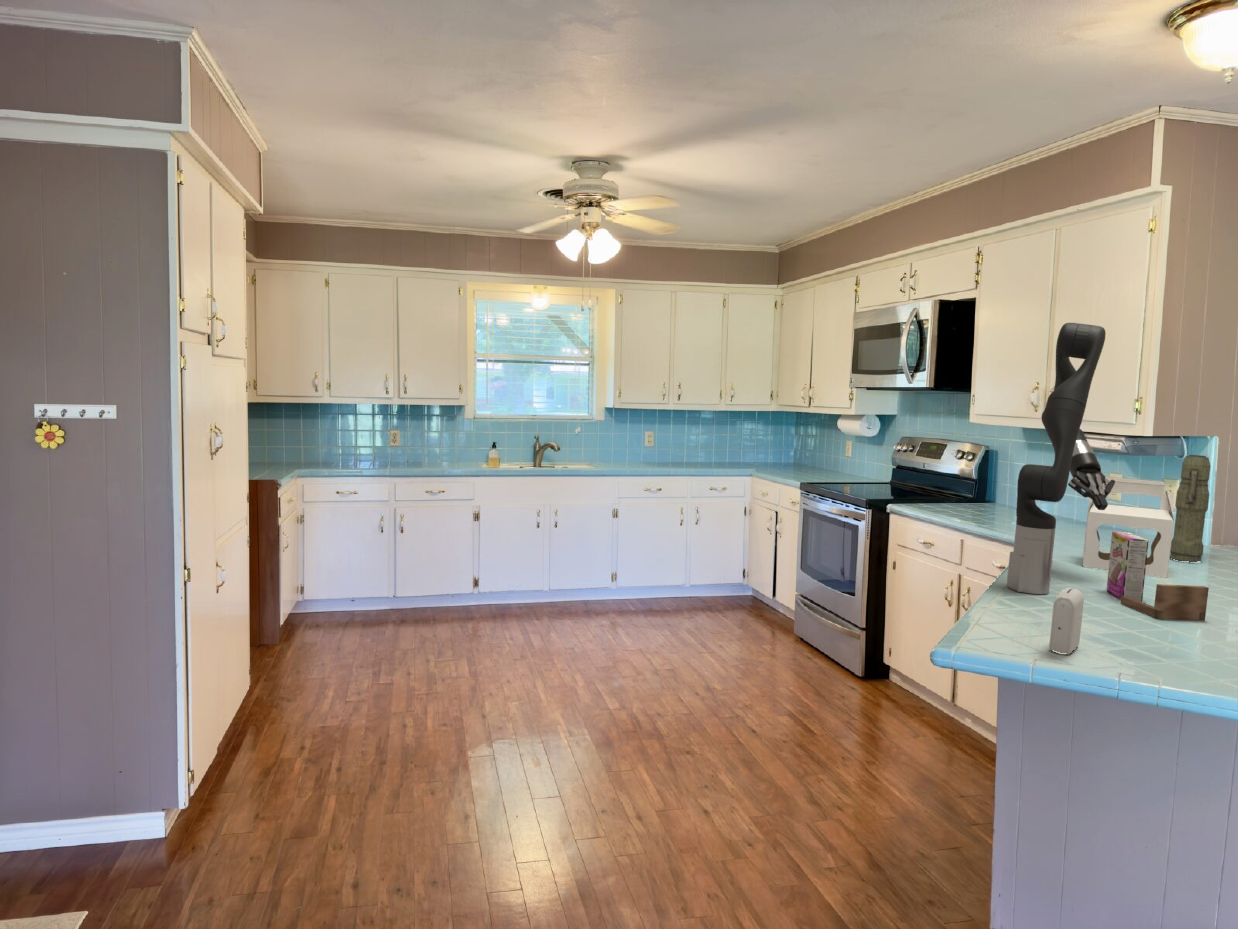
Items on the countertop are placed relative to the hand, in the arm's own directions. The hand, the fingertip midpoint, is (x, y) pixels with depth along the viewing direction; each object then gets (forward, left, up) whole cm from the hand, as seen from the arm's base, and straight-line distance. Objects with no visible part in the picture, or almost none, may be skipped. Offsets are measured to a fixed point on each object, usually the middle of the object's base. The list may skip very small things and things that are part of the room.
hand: (1103, 508), depth 223 cm
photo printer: (-44, -59, -22) cm, 77 cm away
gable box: (+24, +25, -22) cm, 41 cm away
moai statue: (+57, +43, -22) cm, 75 cm away
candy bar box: (0, -12, -22) cm, 25 cm away
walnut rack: (0, -26, -22) cm, 34 cm away
